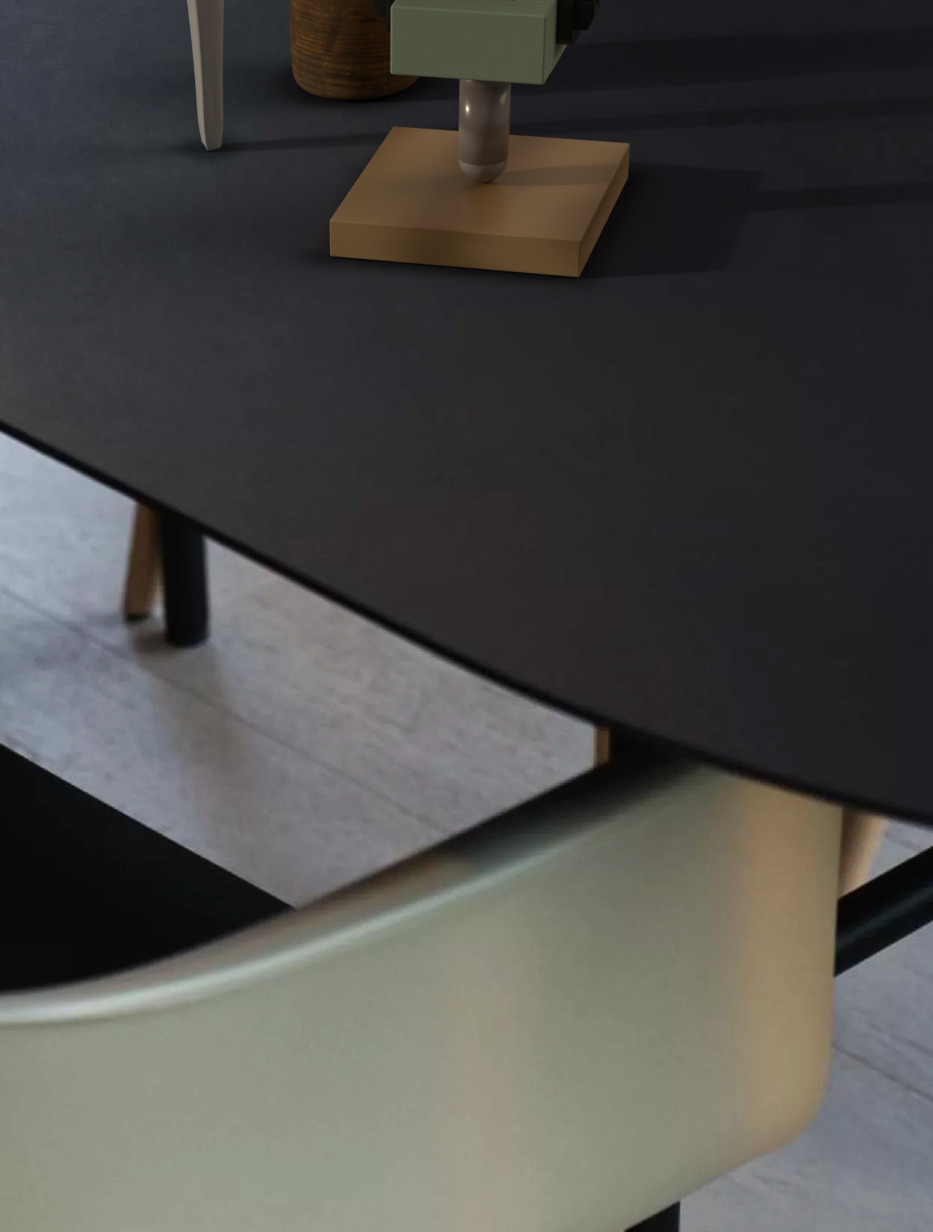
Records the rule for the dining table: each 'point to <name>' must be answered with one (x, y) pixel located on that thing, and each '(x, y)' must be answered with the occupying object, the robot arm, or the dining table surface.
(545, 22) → the green square ring block
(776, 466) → the dining table surface
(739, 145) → the dining table surface
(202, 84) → the pen
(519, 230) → the base pad
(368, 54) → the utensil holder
